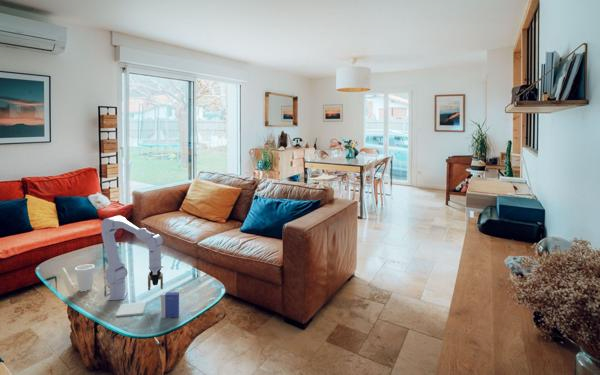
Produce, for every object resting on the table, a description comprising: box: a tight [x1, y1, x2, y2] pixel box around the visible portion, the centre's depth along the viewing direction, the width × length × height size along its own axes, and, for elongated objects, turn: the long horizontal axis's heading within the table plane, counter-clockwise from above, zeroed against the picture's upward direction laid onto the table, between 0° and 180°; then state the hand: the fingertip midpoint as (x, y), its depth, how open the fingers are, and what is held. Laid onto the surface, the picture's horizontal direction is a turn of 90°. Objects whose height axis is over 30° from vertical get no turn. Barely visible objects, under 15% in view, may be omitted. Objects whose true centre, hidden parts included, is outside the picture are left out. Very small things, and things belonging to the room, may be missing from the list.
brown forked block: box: [147, 272, 164, 291], centre depth 181 cm, size 4×7×7 cm, turn 111°
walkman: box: [160, 291, 180, 319], centre depth 167 cm, size 8×3×12 cm, turn 96°
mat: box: [115, 301, 148, 318], centre depth 173 cm, size 12×12×1 cm
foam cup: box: [74, 263, 96, 292], centre depth 193 cm, size 10×9×13 cm
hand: (155, 283), depth 181 cm, fingers closed on brown forked block, 4 cm apart
